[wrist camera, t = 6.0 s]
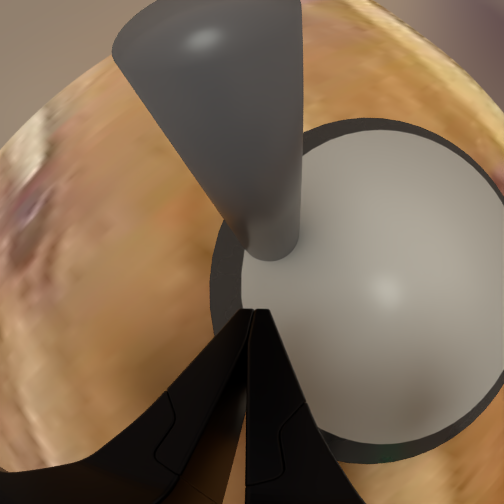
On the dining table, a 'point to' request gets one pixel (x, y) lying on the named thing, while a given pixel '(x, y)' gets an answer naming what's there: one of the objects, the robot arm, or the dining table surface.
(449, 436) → the base plate
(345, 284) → the wheel
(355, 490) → the robot arm
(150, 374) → the dining table surface
